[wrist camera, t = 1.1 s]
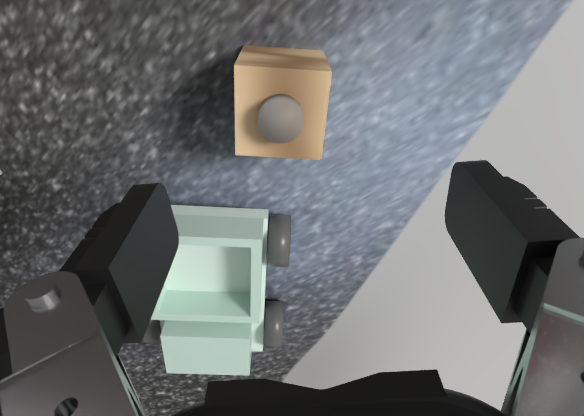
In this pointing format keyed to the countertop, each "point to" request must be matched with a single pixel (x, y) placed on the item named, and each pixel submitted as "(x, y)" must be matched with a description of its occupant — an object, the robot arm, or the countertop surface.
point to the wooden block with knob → (281, 102)
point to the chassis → (220, 290)
